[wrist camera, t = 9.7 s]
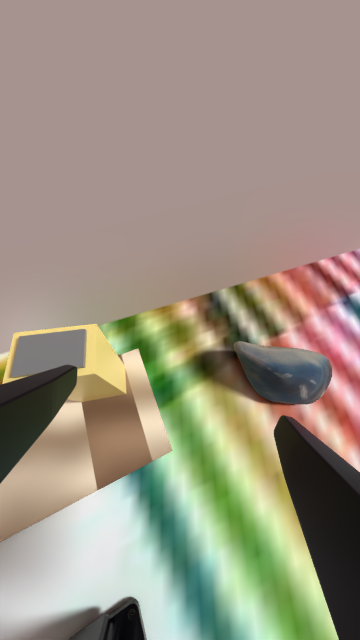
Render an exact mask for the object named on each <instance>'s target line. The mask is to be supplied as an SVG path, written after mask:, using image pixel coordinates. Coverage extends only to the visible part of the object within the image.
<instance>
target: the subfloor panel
mask: <svg viewBox="0 0 360 640" xmlns="http://www.w3.org/2000/svg"><path fill="white" fill-rule="evenodd" d="M118 357H119V358H120V360H121V361H122V362H123V364H124V365H125V375H126V394H124V395H119V396H113V397H107V398H102V399H96V400H91V401H85V402H79V401H74V400H68V399H67V400H66V402H65V403H64V405H63V406H62V407H61V409H60V410H59V412H58V413H57V415H56V416H55V418H54V419H53V420H52V422H51V423H50V424H49V426H48V427H47V428H46V429H45V430H44V432H43V433H42V434H41V435H40V437H39V438H38V439H37V440H36V441H35V443H34V444H33V445H32V446H31V447H30V449H29V450H28V451H27V452H26V453H25V455H24V456H23V457H22V458H21V460H20V461H19V462H18V463H17V464H16V466H15V467H14V468H13V469H12V470H11V472H10V473H9V474H8V475H7V476H6V478H5V479H4V480H3V481H2V483H1V484H0V542H1V541H3V540H5V539H7V538H9V537H11V536H13V535H14V534H16V533H18V532H20V531H22V530H24V529H26V528H28V527H29V526H31V525H33V524H35V523H37V522H39V521H41V520H43V519H45V518H46V517H48V516H50V515H52V514H54V513H56V512H58V511H60V510H62V509H63V508H65V507H67V506H69V505H71V504H73V503H75V502H77V501H78V500H80V499H82V498H84V497H86V496H88V495H90V494H92V493H94V492H95V491H97V490H99V489H101V488H103V487H105V486H107V485H109V484H110V483H112V482H114V481H116V480H118V479H120V478H122V477H124V476H126V475H127V474H129V473H131V472H133V471H135V470H137V469H139V468H141V467H143V466H144V465H146V464H148V463H150V462H152V461H154V460H156V459H158V458H159V457H161V456H163V455H165V454H167V453H169V452H171V451H172V448H171V445H170V442H169V439H168V436H167V433H166V430H165V427H164V424H163V421H162V418H161V415H160V412H159V410H158V407H157V404H156V401H155V398H154V395H153V392H152V389H151V386H150V383H149V380H148V377H147V374H146V371H145V368H144V365H143V362H142V359H141V356H140V353H139V350H138V349H135V350H133V351H130V352H127V353H124V354H121V355H118Z"/></svg>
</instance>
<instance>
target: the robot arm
mask: <svg viewBox="0 0 360 640" xmlns="http://www.w3.org/2000/svg"><path fill="white" fill-rule="evenodd" d="M77 371H78V369H77V367H76V366H73V365H68V364H67V365H63V366H60V367H57V368H53V369H50V370H47V371H44V372H40V373H37V374H34V375H31V376H27V377H24V378H21V379H17V380H14V381H11V382H8V383H4V384H1V385H0V484H1V483H2V481H3V480H4V479H5V478H6V476H7V475H8V474H9V473H10V472H11V470H12V469H13V468H14V467H15V466H16V464H17V463H18V462H19V461H20V460H21V458H22V457H23V456H24V455H25V453H26V452H27V451H28V450H29V449H30V447H31V446H32V445H33V444H34V443H35V441H36V440H37V439H38V438H39V437H40V435H41V434H42V433H43V432H44V430H45V429H46V428H47V427H48V426H49V424H50V423H51V422H52V420H53V419H54V418H55V416H56V415H57V413H58V412H59V410H60V409H61V407H62V406H63V405H64V403H65V402H66V400H67V399H68V397H69V396H70V394H71V393H72V391H73V390H74V388H75V386H76V384H77ZM274 438H275V442H276V446H277V450H278V454H279V458H280V462H281V466H282V470H283V474H284V477H285V480H286V484H287V487H288V490H289V493H290V496H291V499H292V502H293V505H294V507H295V510H296V513H297V516H298V519H299V522H300V525H301V528H302V531H303V534H304V537H305V540H306V543H307V546H308V549H309V552H310V555H311V558H312V561H313V564H314V567H315V570H316V573H317V576H318V579H319V582H320V585H321V588H322V591H323V594H324V597H325V600H326V603H327V606H328V609H329V611H330V614H331V617H332V620H333V623H334V626H335V629H336V632H337V635H338V638H339V640H360V472H358V471H357V470H356V469H355V468H354V467H352V466H351V465H350V464H349V463H347V462H346V461H345V460H344V459H343V458H341V457H340V456H339V455H338V454H336V453H335V452H334V451H333V450H332V449H330V448H329V447H328V446H327V445H325V444H324V443H323V442H322V441H321V440H319V439H318V438H317V437H316V436H314V435H313V434H312V433H311V432H310V431H308V430H307V429H306V428H305V427H303V426H302V425H301V424H300V423H299V422H297V421H296V420H295V419H294V418H292V417H288V416H284V415H283V416H281V417H280V419H279V421H278V423H277V425H276V427H275V429H274ZM130 609H134V610H135V613H134V614H133V615H131V614H130V613H129V611H130ZM69 640H147V639H146V634H145V630H144V625H143V620H142V616H141V611H140V606H139V603H138V601H137V600H136V599H134V598H133V599H130V600H129V601H128V602H126V603H125V604H123V605H122V606H121V607H119V608H118V609H116V610H115V611H114V612H112V613H111V614H109V615H108V614H104V615H102V616H101V617H99V618H98V619H97V620H95V621H94V622H92V623H91V624H89V625H88V626H87V627H85V628H84V629H82V630H81V631H80V632H78V633H77V634H75V635H74V636H73V637H71V638H70V639H69Z"/></svg>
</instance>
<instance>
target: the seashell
mask: <svg viewBox="0 0 360 640" xmlns="http://www.w3.org/2000/svg"><path fill="white" fill-rule="evenodd" d="M234 350H235V352H236V354H237V356H238V358H239V360H240V363H241V365H242V368H243V370H244V372H245V374H246V376H247V378H248V380H249V382H250V383H251V385H252V387H253V388H254V389H255V391H256V392H257V393H258V394H259V395H260V396H262V397H263V398H266V399H268V400H270V401H273V402H280V403H288V404H311V403H313V402H315V401H316V400H318V399H319V398H321V396H322V395H323V394H324V392H325V391H326V389H327V387H328V385H329V383H330V381H331V378H332V367H331V364H330V362H329V360H328V359H327V358H326V357H325V356H323V355H322V354H320V353H317V352H313V351H309V350H304V349H297V348H286V347H271V346H261V345H255V344H250V343H246V342H236V343H235V344H234Z"/></svg>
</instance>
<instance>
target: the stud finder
mask: <svg viewBox="0 0 360 640" xmlns="http://www.w3.org/2000/svg"><path fill="white" fill-rule="evenodd" d="M67 364H68V365H73V366H76V367H77V369H78V371H77V384H76V386H75V388H74V390H73V391H72V393H71V394H70V396H69V397H68V400H74V401H79V402H85V401H91V400H96V399H102V398H107V397H113V396H119V395H124V394H126V375H125V365H124V364H123V362H122V361H121V360H120V358H119V357H118V355H117V354H116V352H115V351H114V349H113V348H112V346H111V345H110V344H109V342H108V341H107V339H106V338H105V336H104V335H103V333H102V332H101V330H100V329H99V328H98V326H97V325H96V324H90V325H81V326H72V327H63V328H54V329H45V330H36V331H27V332H18V333H14V335H13V340H12V344H11V349H10V353H9V357H8V361H7V366H6V370H5V374H4V378H3V383H2V384H4V383H8V382H11V381H14V380H17V379H21V378H24V377H27V376H31V375H34V374H37V373H40V372H44V371H47V370H50V369H53V368H57V367H60V366H63V365H67Z"/></svg>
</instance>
